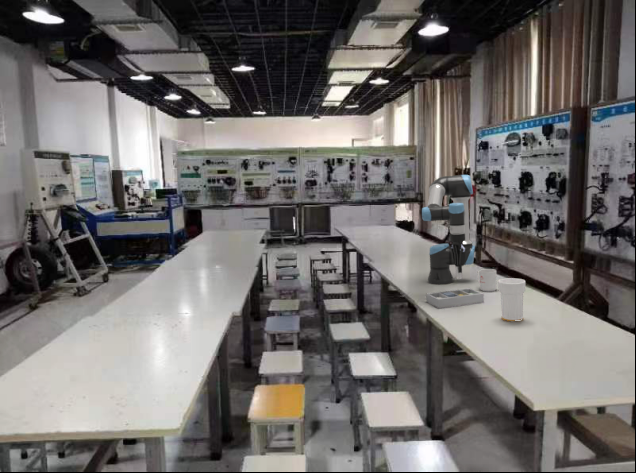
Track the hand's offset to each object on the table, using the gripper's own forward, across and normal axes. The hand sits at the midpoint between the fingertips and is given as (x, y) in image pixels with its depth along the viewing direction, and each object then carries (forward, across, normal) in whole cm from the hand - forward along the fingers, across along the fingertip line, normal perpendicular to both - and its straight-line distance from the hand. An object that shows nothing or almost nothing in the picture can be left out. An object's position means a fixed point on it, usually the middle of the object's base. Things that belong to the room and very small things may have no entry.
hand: (459, 278), depth 244 cm
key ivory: (+11, 0, -12) cm, 17 cm away
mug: (+13, -16, +25) cm, 32 cm away
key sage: (+11, 0, +6) cm, 13 cm away
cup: (+12, +36, +6) cm, 39 cm away
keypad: (+12, 0, -3) cm, 13 cm away
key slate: (+9, 0, -6) cm, 11 cm away
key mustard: (+11, 0, 0) cm, 11 cm away
